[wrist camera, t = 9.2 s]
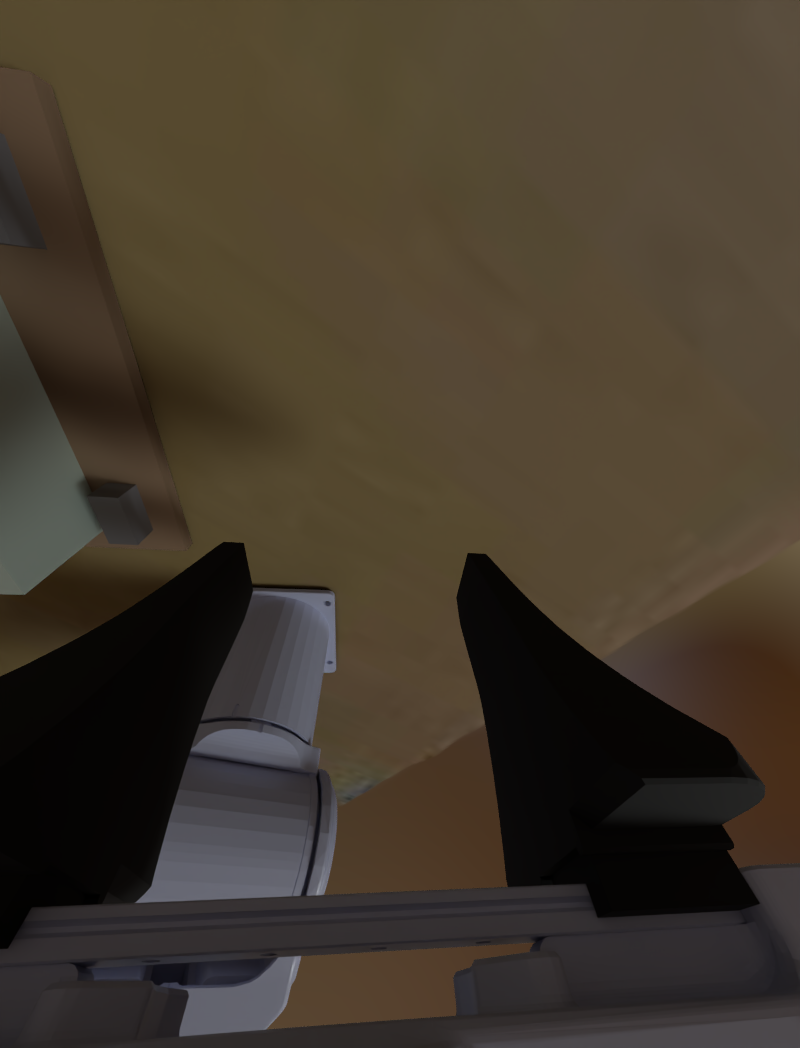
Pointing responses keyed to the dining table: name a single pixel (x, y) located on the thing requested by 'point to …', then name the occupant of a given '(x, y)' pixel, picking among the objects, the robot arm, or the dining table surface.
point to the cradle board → (78, 324)
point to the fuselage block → (35, 476)
